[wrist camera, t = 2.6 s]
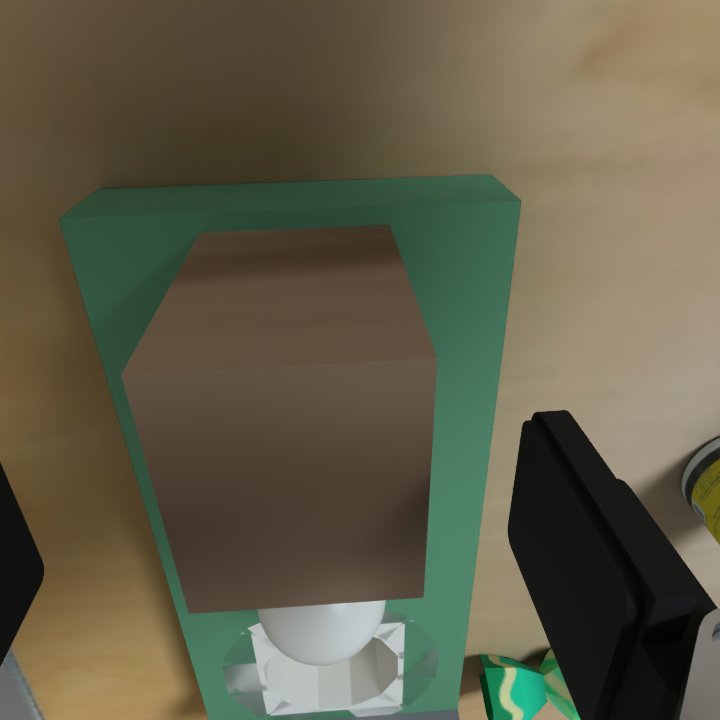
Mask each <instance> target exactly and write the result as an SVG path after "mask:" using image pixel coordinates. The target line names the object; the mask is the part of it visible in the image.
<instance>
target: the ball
mask: <svg viewBox="0 0 720 720" xmlns="http://www.w3.org/2000/svg"><path fill="white" fill-rule="evenodd" d="M385 603H386V600H383V601H369V602H355V603H341V604H327V605H313V606H298V607H284V608H270V609H257V612H258V616H259V619H260V623H261V625H262V627H263V630H264V632H265V633H266V635H267V637H268V638H269V640H270V641H271V642H272V644H273V645H274V646H275V647H276V648H277V649H278V650H279V651H280V652H281V653H283V654H284V655H286V656H287V657H289V658H291V659H292V660H294V661H297V662H299V663H303V664H307V665H312V666H327V665H333V664H336V663H339V662H342V661H345V660H347V659H349V658H351V657H352V656H354V655H355V654H357V653H358V652H359V651H361V650H362V649H363V648H364V647H365V646H366V645H367V644H368V643H369V641H370V640H371V639H372V637H373V636H374V634H375V633H376V631H377V629H378V627H379V625H380V623H381V620H382V617H383V614H384V610H385Z"/></svg>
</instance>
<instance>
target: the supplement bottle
mask: <svg viewBox="0 0 720 720" xmlns="http://www.w3.org/2000/svg"><path fill="white" fill-rule="evenodd" d="M681 485H682V492H683V495H684V497H685V499H686V501H687V502H688V504H689V505H690V506H691V507H692V509H693V511H694V512H695V513H696V514H697V515H698V517H699V518H700V519H701V521H702V522H703V523H704V525H705V526H706V527H707V529H708V530H709V531H710V533H711V534H712V535H713V537H714V538H715V539H716V541H717V542H718V543H719V544H720V438H718V439H716V440H714V441H712V442H711V443H709V444H708V445H706V446H705V447H704V448H702V449H701V450H700V451H699V452H698V453H697V454H696V455H695V456H694V457H693V458H692V460H691V461H690V463H689V464H688V466H687V467H686V470H685V472H684V474H683V478H682V484H681Z"/></svg>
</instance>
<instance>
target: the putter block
mask: <svg viewBox="0 0 720 720" xmlns="http://www.w3.org/2000/svg"><path fill="white" fill-rule="evenodd" d="M436 375H437V356H436V353H435V350H434V347H433V344H432V342H431V339H430V336H429V333H428V330H427V328H426V325H425V322H424V319H423V316H422V314H421V311H420V308H419V305H418V302H417V300H416V297H415V294H414V291H413V288H412V286H411V283H410V280H409V277H408V274H407V272H406V269H405V266H404V263H403V260H402V258H401V255H400V252H399V249H398V246H397V244H396V241H395V238H394V235H393V232H392V230H391V227H390V225H366V226H342V227H317V228H293V229H268V230H244V231H219V232H200V234H199V236H198V237H197V239H196V241H195V243H194V245H193V246H192V248H191V250H190V252H189V254H188V255H187V257H186V259H185V261H184V263H183V264H182V266H181V268H180V270H179V271H178V273H177V275H176V277H175V279H174V280H173V282H172V284H171V286H170V288H169V289H168V291H167V293H166V295H165V297H164V298H163V300H162V302H161V304H160V306H159V307H158V309H157V311H156V313H155V315H154V316H153V318H152V320H151V322H150V324H149V325H148V327H147V329H146V331H145V333H144V334H143V336H142V338H141V340H140V341H139V343H138V345H137V347H136V349H135V350H134V352H133V354H132V356H131V358H130V359H129V361H128V363H127V365H126V367H125V368H124V370H123V372H122V374H121V376H122V380H123V384H124V387H125V391H126V394H127V398H128V401H129V405H130V408H131V412H132V415H133V419H134V422H135V426H136V429H137V433H138V437H139V440H140V444H141V447H142V451H143V454H144V458H145V461H146V465H147V468H148V472H149V475H150V479H151V482H152V486H153V489H154V493H155V497H156V500H157V504H158V507H159V511H160V514H161V518H162V521H163V525H164V528H165V532H166V535H167V539H168V542H169V546H170V549H171V553H172V557H173V560H174V564H175V567H176V571H177V574H178V578H179V581H180V585H181V588H182V592H183V595H184V599H185V602H186V606H187V609H188V613H189V614H199V613H213V612H228V611H242V610H256V609H270V608H284V607H298V606H313V605H327V604H341V603H355V602H369V601H383V600H398V599H412V598H424V584H425V566H426V549H427V531H428V514H429V497H430V479H431V462H432V445H433V427H434V410H435V392H436Z"/></svg>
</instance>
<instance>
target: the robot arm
mask: <svg viewBox="0 0 720 720" xmlns="http://www.w3.org/2000/svg"><path fill="white" fill-rule="evenodd" d="M508 538H509V542H510V546H511V549H512V551H513V554H514V556H515V559H516V561H517V564H518V566H519V569H520V571H521V574H522V576H523V579H524V581H525V583H526V586H527V588H528V591H529V593H530V596H531V598H532V601H533V603H534V606H535V608H536V611H537V613H538V616H539V618H540V621H541V623H542V626H543V628H544V631H545V633H546V636H547V638H548V641H549V643H550V646H551V648H552V651H553V653H554V656H555V658H556V661H557V663H558V666H559V668H560V671H561V673H562V676H563V678H564V680H565V683H566V685H567V688H568V690H569V693H570V695H571V698H572V700H573V703H574V705H575V708H576V710H577V713H578V715H579V717H580V720H720V608H719V609H718V608H717V606H716V605H715V604H714V602H713V601H712V600H711V598H710V597H709V595H708V594H707V593H706V591H705V590H704V589H703V587H702V586H701V584H700V583H699V582H698V580H697V579H696V578H695V576H694V575H693V573H692V572H691V571H690V569H689V568H688V567H687V565H686V564H685V562H684V561H683V560H682V558H681V557H680V555H679V554H678V553H677V551H676V550H675V549H674V547H673V546H672V544H671V543H670V542H669V540H668V539H667V538H666V536H665V535H664V533H663V532H662V531H661V529H660V528H659V527H658V525H657V524H656V522H655V521H654V520H653V518H652V517H651V516H650V514H649V513H648V511H647V510H646V509H645V507H644V506H643V504H642V503H641V502H640V500H639V499H638V498H637V496H636V495H635V493H634V492H633V491H632V489H631V488H630V487H629V486H628V485H627V484H626V483H625V482H624V481H622V480H620V479H616V477H615V476H614V474H613V473H612V472H611V470H610V469H609V467H608V466H607V465H606V463H605V462H604V460H603V459H602V457H601V456H600V455H599V453H598V452H597V450H596V449H595V448H594V446H593V445H592V443H591V442H590V441H589V439H588V438H587V436H586V435H585V433H584V432H583V431H582V429H581V428H580V426H579V425H578V424H577V422H576V421H575V419H574V418H573V417H572V415H571V414H570V413H569V412H568V411H566V410H561V411H546V412H536V413H534V414H533V416H532V419H531V420H529V421H524V423H523V426H522V432H521V438H520V445H519V452H518V459H517V466H516V473H515V480H514V487H513V494H512V501H511V508H510V515H509V522H508ZM43 576H44V565H43V561H42V559H41V556H40V554H39V552H38V549H37V547H36V545H35V542H34V540H33V538H32V535H31V533H30V531H29V528H28V526H27V524H26V521H25V519H24V517H23V514H22V512H21V510H20V507H19V505H18V503H17V500H16V498H15V496H14V493H13V491H12V489H11V486H10V484H9V482H8V479H7V477H6V474H5V472H4V470H3V467H2V465H1V463H0V666H1V664H2V662H3V660H4V658H5V656H6V654H7V652H8V650H9V648H10V646H11V644H12V642H13V640H14V638H15V636H16V634H17V632H18V630H19V628H20V626H21V624H22V622H23V620H24V618H25V616H26V614H27V612H28V610H29V608H30V606H31V604H32V602H33V600H34V598H35V596H36V594H37V592H38V590H39V588H40V586H41V583H42V581H43Z"/></svg>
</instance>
